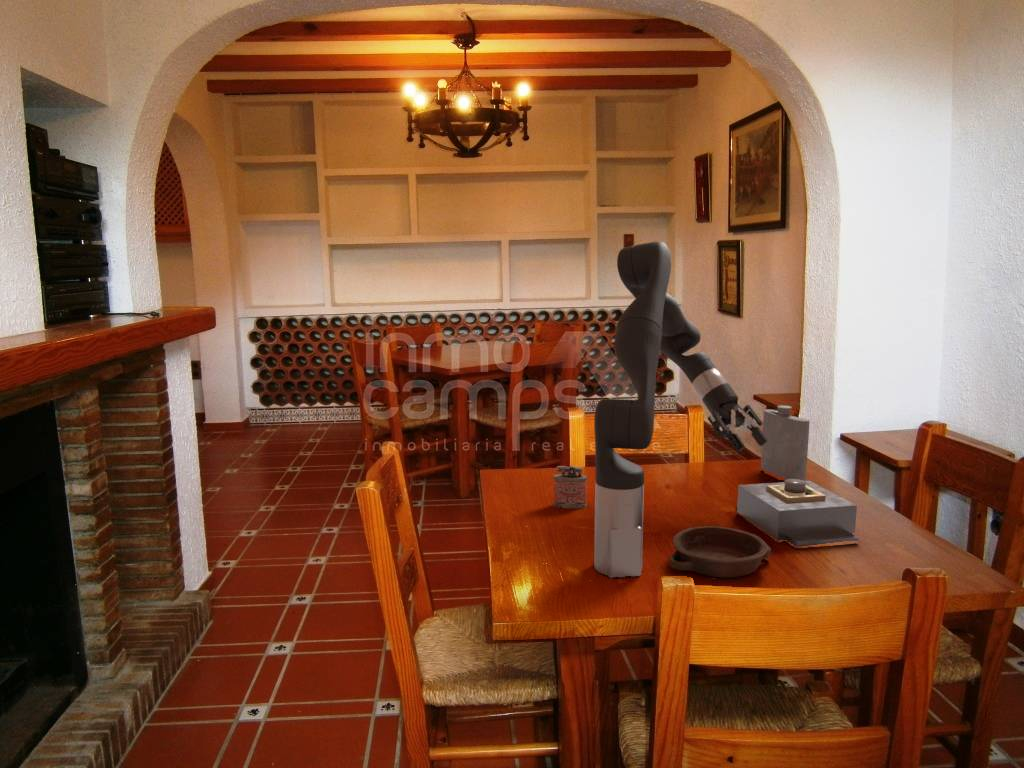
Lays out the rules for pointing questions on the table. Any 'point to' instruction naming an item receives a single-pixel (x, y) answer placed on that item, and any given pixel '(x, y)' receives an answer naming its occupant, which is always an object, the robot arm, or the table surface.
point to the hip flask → (785, 444)
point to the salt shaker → (794, 487)
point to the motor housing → (798, 513)
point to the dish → (718, 551)
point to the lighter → (570, 488)
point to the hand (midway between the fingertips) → (752, 446)
